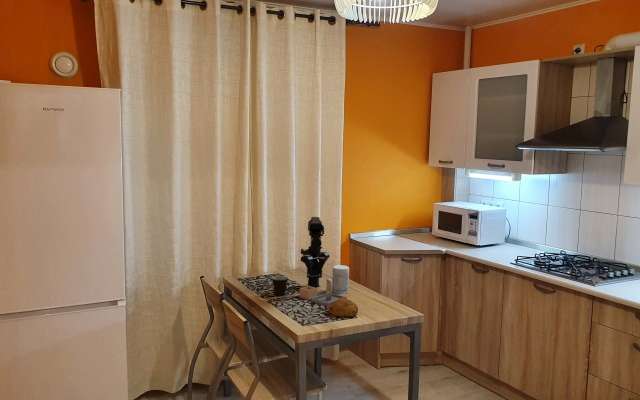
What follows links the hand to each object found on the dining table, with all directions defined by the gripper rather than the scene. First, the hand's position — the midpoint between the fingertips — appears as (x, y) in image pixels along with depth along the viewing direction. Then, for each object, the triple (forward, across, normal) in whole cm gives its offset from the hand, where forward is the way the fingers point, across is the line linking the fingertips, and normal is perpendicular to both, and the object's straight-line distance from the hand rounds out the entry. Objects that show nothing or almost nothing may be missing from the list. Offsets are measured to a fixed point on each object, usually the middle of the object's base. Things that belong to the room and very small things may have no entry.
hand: (314, 272), depth 286 cm
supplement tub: (+13, -15, +7) cm, 21 cm away
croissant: (+13, +13, +30) cm, 36 cm away
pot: (+13, +7, +2) cm, 15 cm away
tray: (+13, +4, +14) cm, 19 cm away
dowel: (+12, +4, +14) cm, 19 cm away
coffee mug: (+13, +14, -13) cm, 23 cm away
